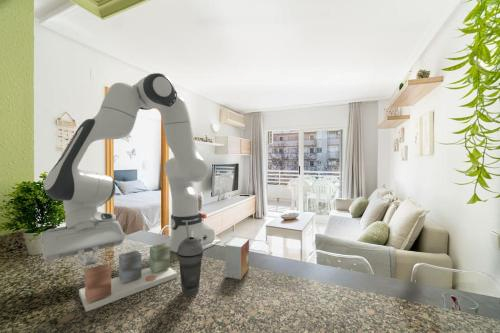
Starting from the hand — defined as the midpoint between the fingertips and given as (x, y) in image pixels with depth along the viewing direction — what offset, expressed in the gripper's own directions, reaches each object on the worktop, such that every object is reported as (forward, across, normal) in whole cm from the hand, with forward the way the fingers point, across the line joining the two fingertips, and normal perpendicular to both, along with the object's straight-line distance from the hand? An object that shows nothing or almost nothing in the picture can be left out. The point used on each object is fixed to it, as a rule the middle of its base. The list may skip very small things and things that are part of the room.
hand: (90, 264), depth 67 cm
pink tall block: (+11, 0, -4) cm, 11 cm away
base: (+10, +9, 0) cm, 13 cm away
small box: (+22, +37, -11) cm, 44 cm away
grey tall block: (+8, +9, -1) cm, 12 cm away
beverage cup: (+21, +20, -11) cm, 31 cm away
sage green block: (+8, +18, -1) cm, 20 cm away
